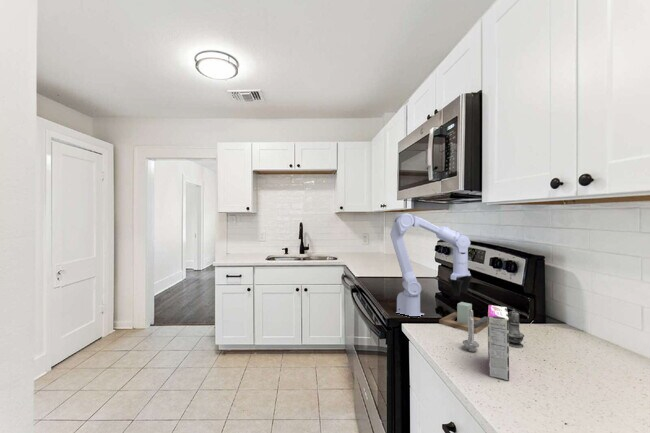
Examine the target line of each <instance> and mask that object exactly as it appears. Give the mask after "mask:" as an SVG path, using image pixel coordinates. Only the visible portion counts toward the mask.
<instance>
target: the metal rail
mask: <svg viewBox="0 0 650 433" xmlns="http://www.w3.org/2000/svg"><path fill="white" fill-rule="evenodd" d="M487 321H488V316H483V317H481V319H480V320H478V321H476V322H475V323H474V328H475V329H476V328H478V327H479V326H481V325H483V324H484V323H486V322H487Z"/></svg>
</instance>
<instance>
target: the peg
mask: <svg viewBox="0 0 650 433" xmlns="http://www.w3.org/2000/svg"><path fill="white" fill-rule="evenodd" d="M456 309H457V310H456V311H457V312H456V313H457V320H456V322H460V323H464V324H467V325H468V317H469V310H473V304H472V303H469V302H464V301H460V302H458V303H457V306H456Z"/></svg>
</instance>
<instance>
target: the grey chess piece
mask: <svg viewBox="0 0 650 433" xmlns="http://www.w3.org/2000/svg"><path fill="white" fill-rule="evenodd" d="M508 318H509V348H510V347H511V348H515V349H522V348H524V345H523V343H522V342H523V340H524V338H525V334H524V333H522V332H521V331H520V325H521V322H520V314H519V313H518V312H517V311H516V309H515V308H513V309H512V310H511V311H509V312H508Z"/></svg>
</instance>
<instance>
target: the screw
mask: <svg viewBox="0 0 650 433" xmlns="http://www.w3.org/2000/svg"><path fill="white" fill-rule="evenodd" d="M473 317H474V310H473V309H472V310H469V317H468V331H467V339H464V340H462V342H461V344H463V345H464V346H465V349H466V351H468V352H471V353H472V352H476V349H477V348H479V347H480V343H478V341H476V340H475V333H474V320H473V319H474V318H473Z"/></svg>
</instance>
